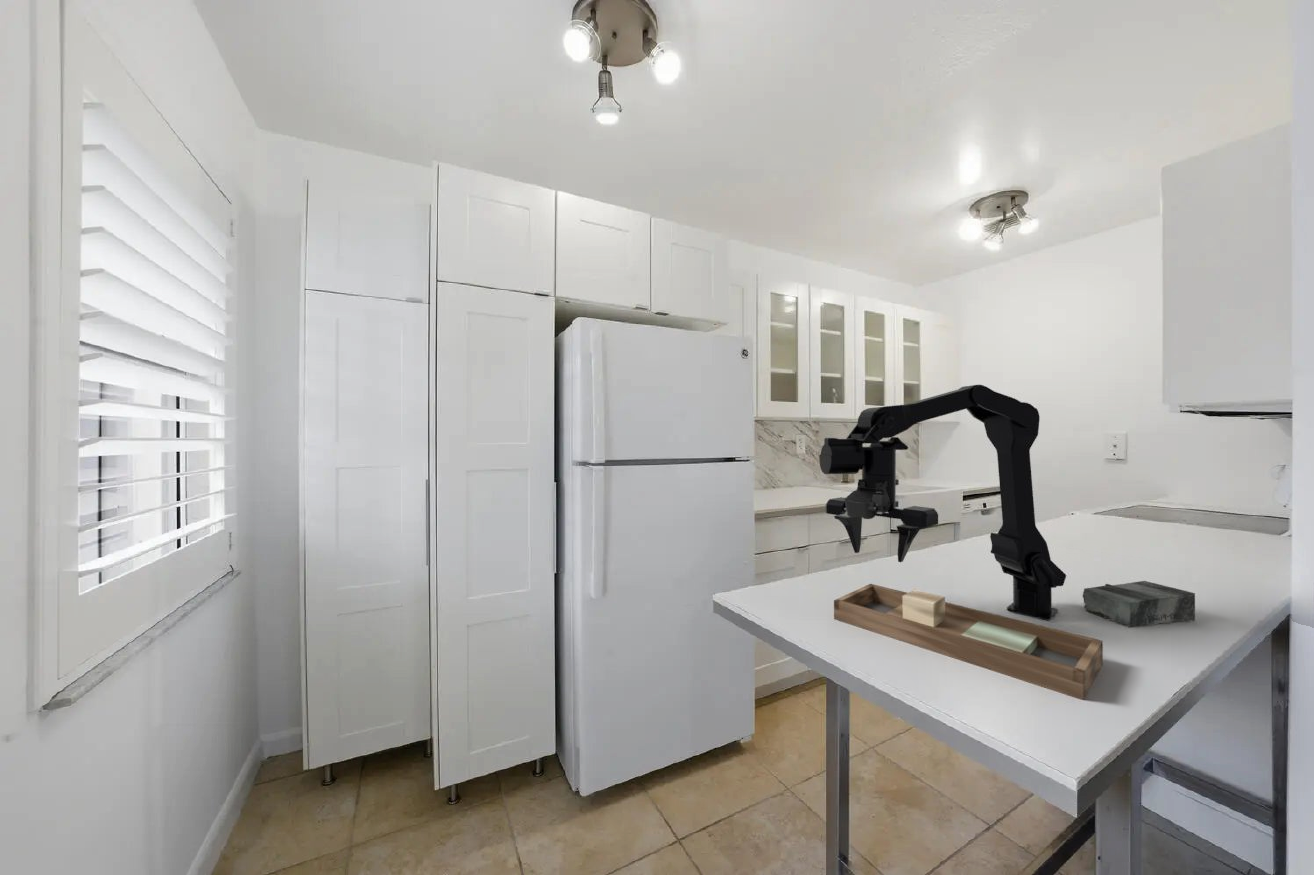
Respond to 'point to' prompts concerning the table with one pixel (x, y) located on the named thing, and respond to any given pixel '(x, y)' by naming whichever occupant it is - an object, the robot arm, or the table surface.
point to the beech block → (924, 607)
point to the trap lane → (982, 640)
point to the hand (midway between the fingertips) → (878, 557)
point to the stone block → (1140, 603)
